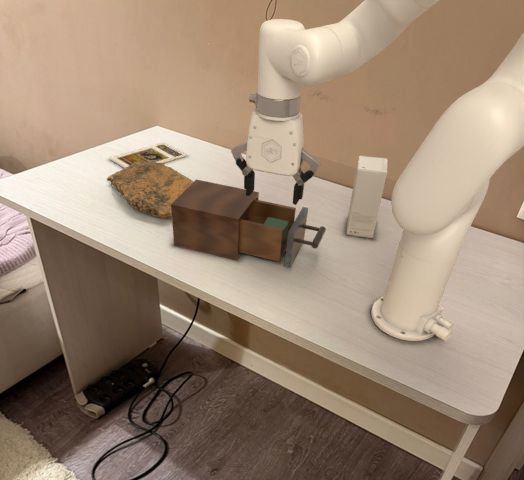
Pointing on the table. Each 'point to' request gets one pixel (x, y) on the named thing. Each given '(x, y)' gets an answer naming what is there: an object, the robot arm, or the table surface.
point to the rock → (150, 187)
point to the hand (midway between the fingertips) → (272, 197)
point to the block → (279, 224)
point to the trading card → (148, 155)
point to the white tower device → (366, 196)
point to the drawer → (275, 232)
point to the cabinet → (210, 218)
